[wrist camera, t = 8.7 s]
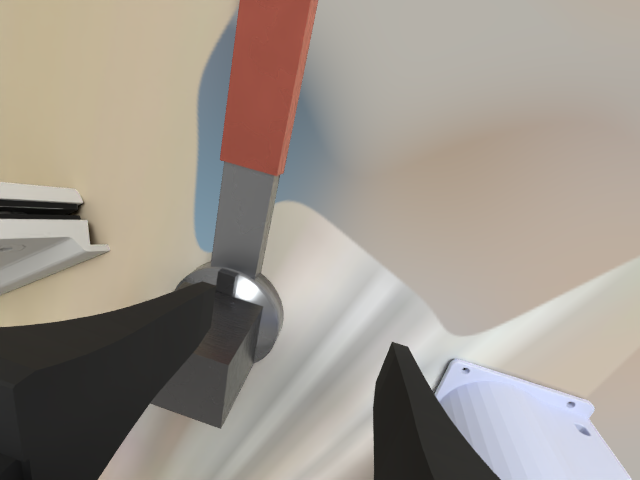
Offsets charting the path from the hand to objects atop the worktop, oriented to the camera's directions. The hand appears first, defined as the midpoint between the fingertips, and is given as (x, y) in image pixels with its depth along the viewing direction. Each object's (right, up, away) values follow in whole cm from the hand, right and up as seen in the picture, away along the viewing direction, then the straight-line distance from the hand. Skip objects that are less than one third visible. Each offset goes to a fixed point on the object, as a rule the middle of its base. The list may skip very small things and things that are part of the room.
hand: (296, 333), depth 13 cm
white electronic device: (-24, +4, +14) cm, 28 cm away
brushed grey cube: (-6, -2, +10) cm, 12 cm away
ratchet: (-4, +6, +9) cm, 11 cm away
